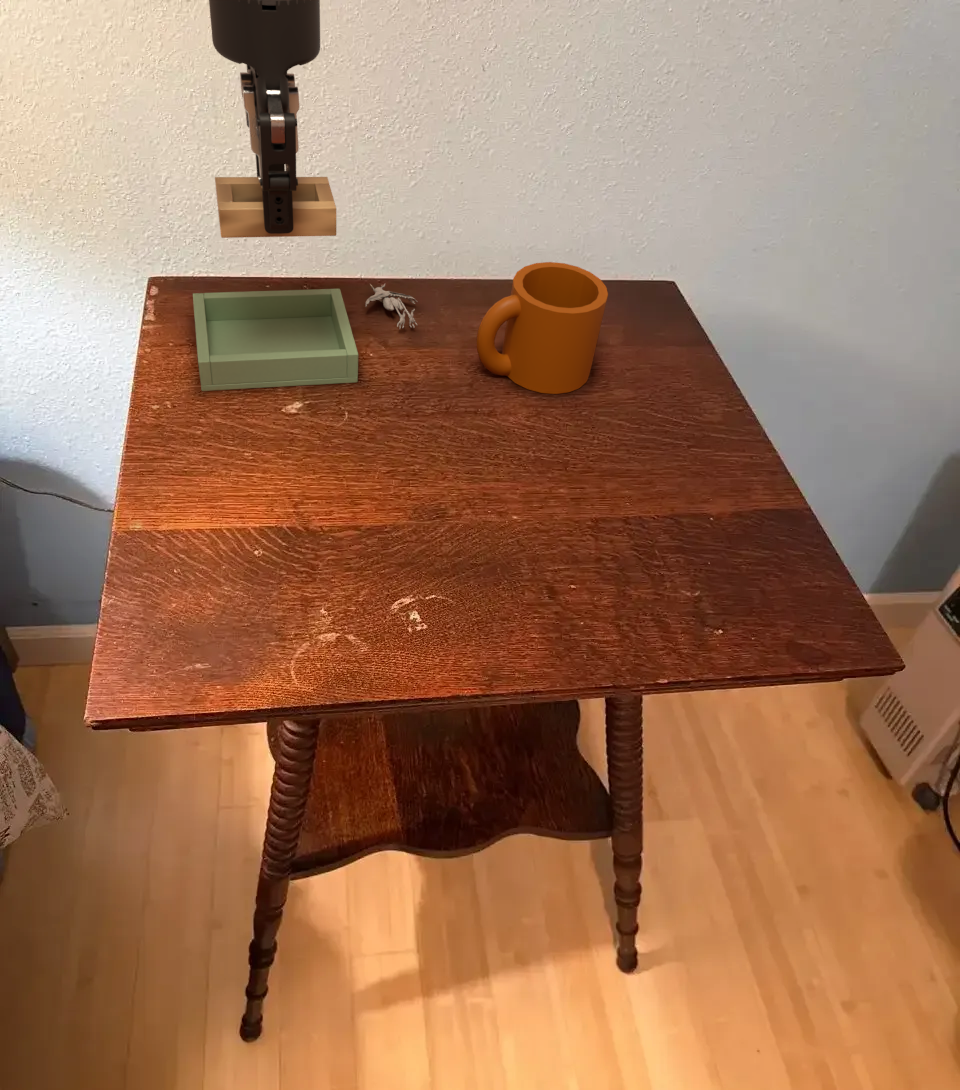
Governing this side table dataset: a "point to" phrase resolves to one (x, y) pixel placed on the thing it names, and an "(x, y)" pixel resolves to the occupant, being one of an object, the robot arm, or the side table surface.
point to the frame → (245, 208)
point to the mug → (545, 328)
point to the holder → (273, 339)
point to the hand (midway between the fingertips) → (275, 212)
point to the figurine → (393, 303)
